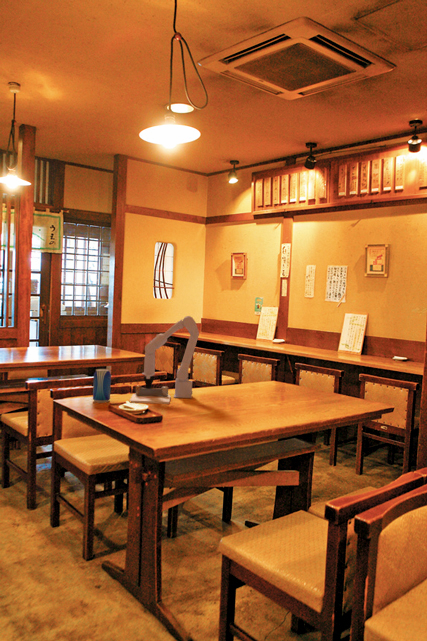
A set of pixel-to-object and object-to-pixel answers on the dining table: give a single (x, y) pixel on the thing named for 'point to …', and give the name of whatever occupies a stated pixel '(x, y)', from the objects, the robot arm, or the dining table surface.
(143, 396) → the board
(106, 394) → the beer can
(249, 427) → the dining table surface
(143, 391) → the lever
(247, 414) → the dining table surface
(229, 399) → the dining table surface
